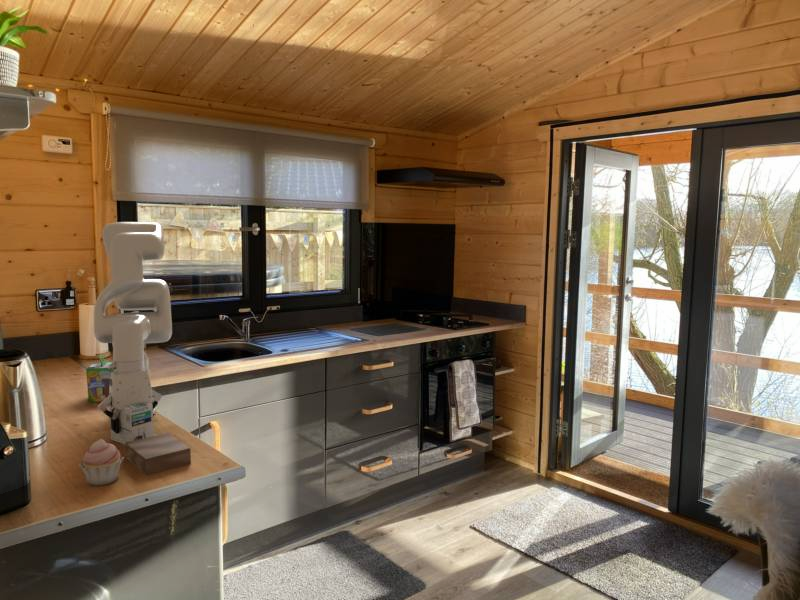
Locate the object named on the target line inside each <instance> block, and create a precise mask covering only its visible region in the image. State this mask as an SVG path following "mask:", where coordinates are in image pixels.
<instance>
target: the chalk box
mask: <svg viewBox="0 0 800 600" xmlns="http://www.w3.org/2000/svg"><path fill="white" fill-rule="evenodd" d="M98 360H99V362H92V363H91V364H90V365H89V366H87V368H86V369H85V370H86V371H85V372H86V384H87V395H88V396H87V397H88V399H87V400H88V401H87V402H88V403H89V402H90V403H89V404H91V402H93V403H101V402H102V401H103V400H105V399H106V398H107V397H108V396H109V389H110V379H111V373H112V372H113V371H114V370H113V369H108V364H111V363H113V361H106V360H105V357H104V354H103V353H101V354H100V355H99V356H98Z"/></svg>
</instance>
